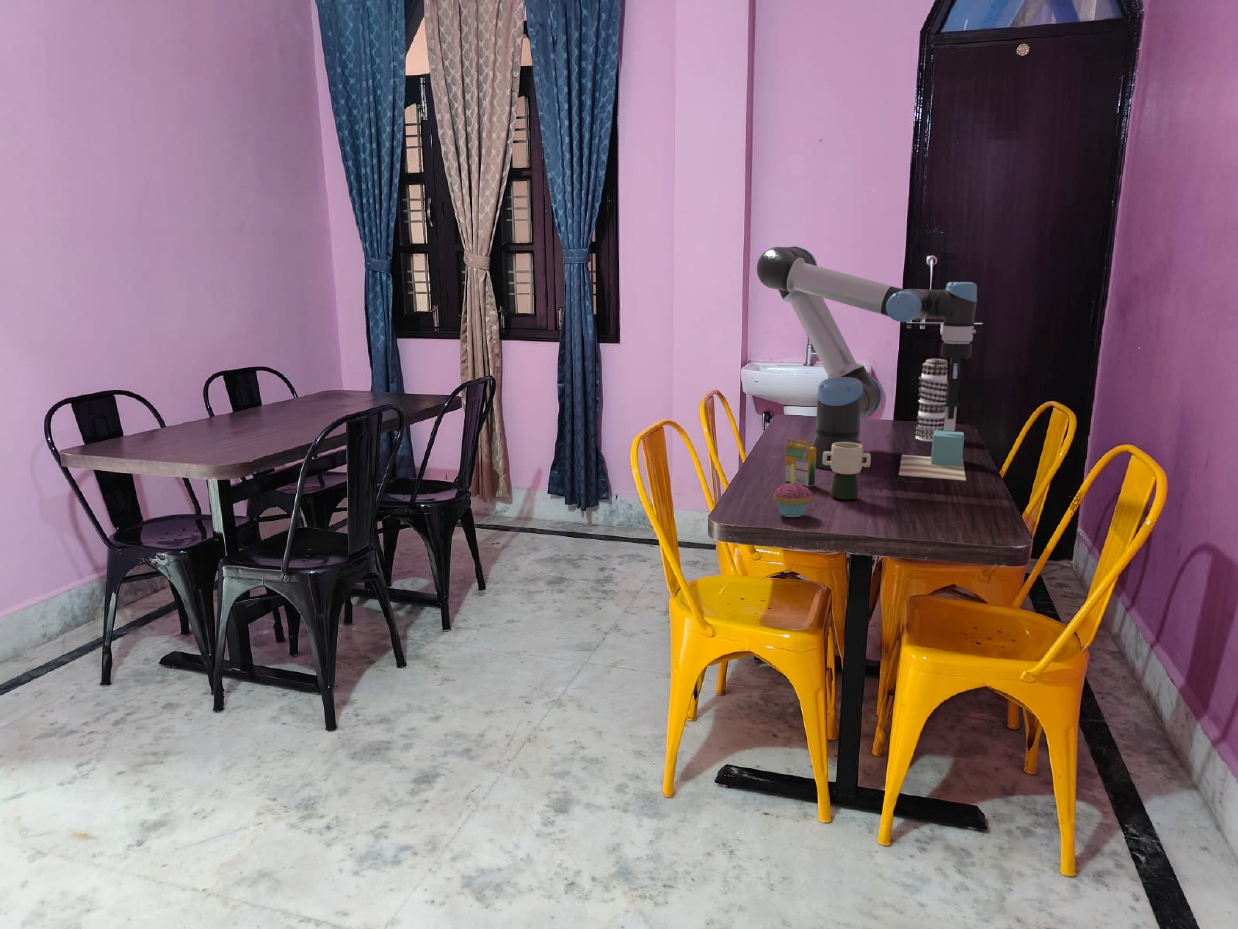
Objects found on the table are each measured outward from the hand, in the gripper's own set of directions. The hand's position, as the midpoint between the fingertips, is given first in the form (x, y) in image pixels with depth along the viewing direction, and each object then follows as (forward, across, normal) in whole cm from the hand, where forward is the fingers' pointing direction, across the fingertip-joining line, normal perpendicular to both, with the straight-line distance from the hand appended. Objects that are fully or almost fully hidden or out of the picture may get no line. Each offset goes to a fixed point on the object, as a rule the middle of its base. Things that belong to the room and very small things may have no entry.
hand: (949, 430), depth 227 cm
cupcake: (+11, -58, +33) cm, 67 cm away
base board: (+10, -7, +4) cm, 13 cm away
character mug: (+11, -40, +23) cm, 48 cm away
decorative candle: (+11, +38, +4) cm, 39 cm away
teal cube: (+9, 0, 0) cm, 9 cm away
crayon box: (+11, -30, +35) cm, 47 cm away
